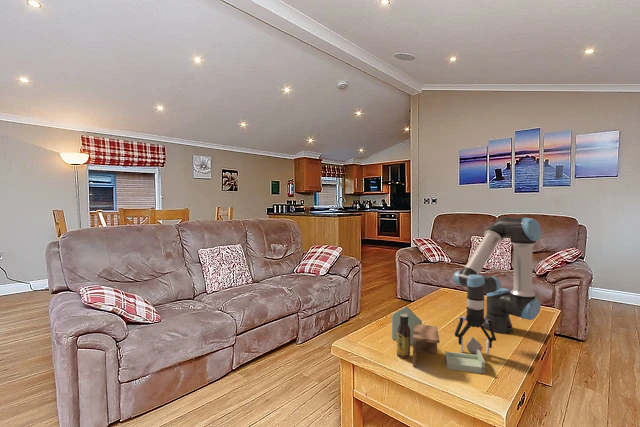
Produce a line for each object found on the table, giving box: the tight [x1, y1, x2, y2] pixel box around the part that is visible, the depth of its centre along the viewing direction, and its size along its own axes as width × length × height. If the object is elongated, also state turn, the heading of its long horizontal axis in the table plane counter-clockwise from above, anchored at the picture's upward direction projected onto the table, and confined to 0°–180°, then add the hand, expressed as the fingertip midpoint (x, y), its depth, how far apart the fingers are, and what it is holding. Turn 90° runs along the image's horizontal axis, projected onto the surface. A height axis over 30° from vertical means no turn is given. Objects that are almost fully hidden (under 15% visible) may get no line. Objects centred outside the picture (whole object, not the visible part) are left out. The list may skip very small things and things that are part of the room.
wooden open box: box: [412, 324, 441, 368], centre depth 153 cm, size 11×17×13 cm, turn 164°
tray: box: [444, 350, 486, 374], centre depth 149 cm, size 15×12×5 cm
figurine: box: [466, 336, 483, 355], centre depth 159 cm, size 6×7×8 cm
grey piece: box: [391, 305, 423, 347], centre depth 173 cm, size 16×8×20 cm, turn 50°
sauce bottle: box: [396, 313, 411, 359], centre depth 157 cm, size 6×6×20 cm
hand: (474, 352), depth 159 cm, fingers open, 11 cm apart
